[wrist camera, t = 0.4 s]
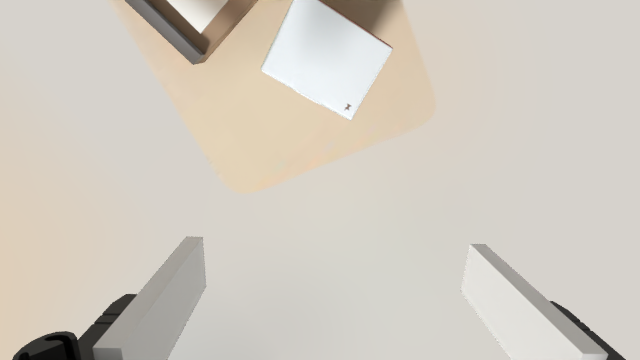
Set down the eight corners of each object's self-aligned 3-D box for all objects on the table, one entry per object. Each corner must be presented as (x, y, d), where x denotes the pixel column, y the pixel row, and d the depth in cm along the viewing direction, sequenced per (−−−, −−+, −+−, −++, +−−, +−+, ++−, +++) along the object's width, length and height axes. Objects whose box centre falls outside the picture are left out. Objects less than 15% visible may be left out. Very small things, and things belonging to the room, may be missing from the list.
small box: (362, 46, 35) (396, 48, 23) (334, 97, 37) (351, 123, 25) (298, 5, 32) (298, -16, 21) (272, 61, 35) (258, 72, 23)
